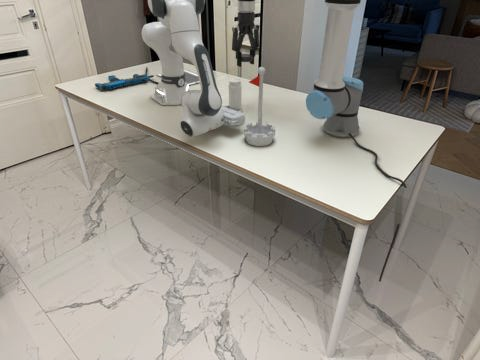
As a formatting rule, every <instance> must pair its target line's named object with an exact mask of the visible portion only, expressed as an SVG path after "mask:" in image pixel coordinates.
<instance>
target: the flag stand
mask: <svg viewBox="0 0 480 360" xmlns="http://www.w3.org/2000/svg"><path fill="white" fill-rule="evenodd" d="M257 74H258V75H257V76H256V77H254V78H252V79H251V80H250V81H248V84H252V85H253V86H256V87H258V104H257V105H258V108H257V109H258V112H257V121H256V122H255V124H253V123H252V122H249V123H246V124H245V125H246V126H244V127H243V135H244V137H245V141H246V143H248V145H252V146H256V147H263V146H268V145H270V144H272V143H273V138H274V137H275V136H276V127H275V126H273V124H272V123H269V122H267V123H266V124H263V101H264V100H263V95H264V75H265V74H266V68H265V67H263V66H260V67H258V68H257Z"/></svg>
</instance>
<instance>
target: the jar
mask: <svg viewBox="0 0 480 360" xmlns="http://www.w3.org/2000/svg"><path fill="white" fill-rule="evenodd" d="M228 82H229V84H228V105H229V108H230V109H233V110H236V111H238V110H239V109H242V80H241V79H239V78H231V79H229V80H228ZM240 125H242V123H240V124H237V125H233V126H234V127H235V126H240Z"/></svg>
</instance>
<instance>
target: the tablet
mask: <svg viewBox="0 0 480 360" xmlns="http://www.w3.org/2000/svg"><path fill="white" fill-rule="evenodd" d="M184 73H185V76H186V81H185V82H186V83H187V86H189V87H190V86H192V85H197V84H200V82H199V78H198V74H197V73H194V72H192V71H190V70H187V69H184ZM161 74H162V73H158V74H156V76H157V77H160V76H162V75H161Z"/></svg>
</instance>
